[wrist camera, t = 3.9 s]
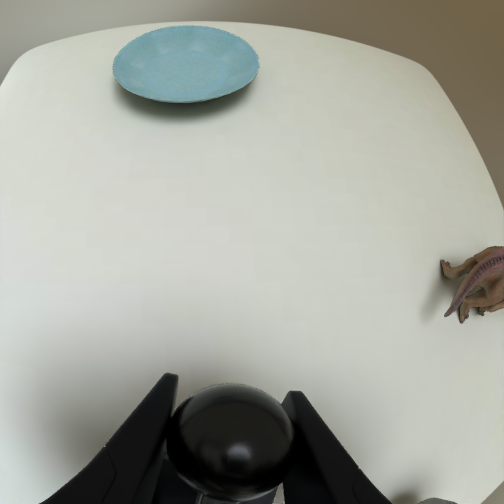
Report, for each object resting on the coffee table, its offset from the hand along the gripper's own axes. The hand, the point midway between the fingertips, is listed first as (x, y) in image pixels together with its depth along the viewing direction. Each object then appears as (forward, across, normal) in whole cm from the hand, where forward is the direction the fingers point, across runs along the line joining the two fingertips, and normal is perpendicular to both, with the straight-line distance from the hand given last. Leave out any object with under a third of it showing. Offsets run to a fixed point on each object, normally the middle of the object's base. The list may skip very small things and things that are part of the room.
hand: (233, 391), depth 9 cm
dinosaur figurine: (+11, -20, -1) cm, 23 cm away
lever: (-5, 0, +4) cm, 6 cm away
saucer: (+20, +7, -10) cm, 24 cm away
